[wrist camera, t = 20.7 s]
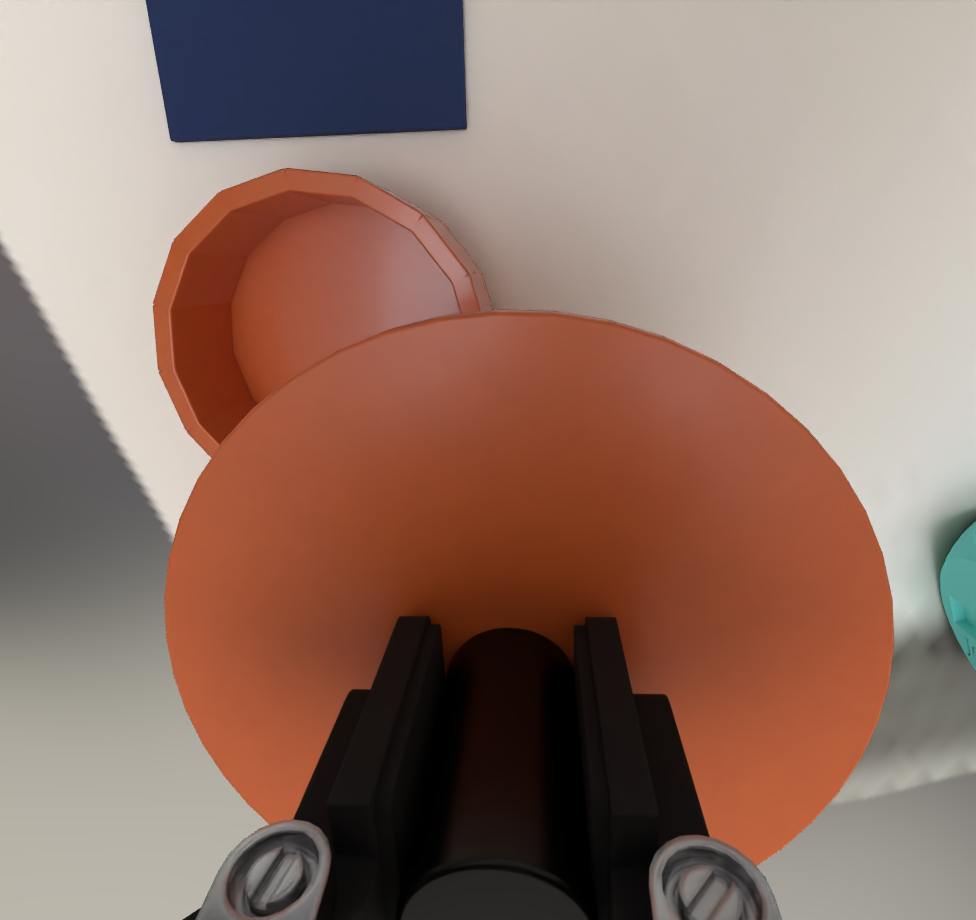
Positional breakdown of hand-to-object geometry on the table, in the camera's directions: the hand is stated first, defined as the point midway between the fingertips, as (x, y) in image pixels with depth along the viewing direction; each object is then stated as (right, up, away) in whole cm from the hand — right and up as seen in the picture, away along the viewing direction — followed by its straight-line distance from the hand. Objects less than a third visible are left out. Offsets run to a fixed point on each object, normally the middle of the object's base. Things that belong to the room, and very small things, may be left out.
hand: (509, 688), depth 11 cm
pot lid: (0, 0, +1) cm, 1 cm away
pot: (-6, +9, +15) cm, 19 cm away
